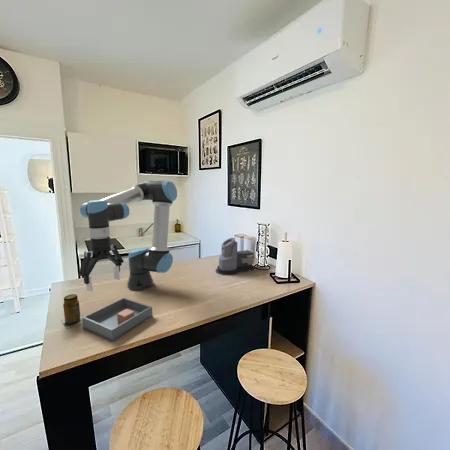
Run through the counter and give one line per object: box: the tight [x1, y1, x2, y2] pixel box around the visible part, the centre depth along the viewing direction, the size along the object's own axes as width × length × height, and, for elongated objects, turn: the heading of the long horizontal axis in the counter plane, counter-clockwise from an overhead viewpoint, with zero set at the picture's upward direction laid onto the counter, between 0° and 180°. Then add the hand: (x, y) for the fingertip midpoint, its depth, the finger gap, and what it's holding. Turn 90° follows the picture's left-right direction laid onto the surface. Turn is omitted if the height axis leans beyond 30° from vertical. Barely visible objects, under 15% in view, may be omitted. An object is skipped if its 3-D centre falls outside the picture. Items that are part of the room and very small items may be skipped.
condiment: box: [61, 293, 83, 329], centre depth 111 cm, size 7×8×12 cm
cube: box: [117, 309, 134, 324], centre depth 109 cm, size 5×5×5 cm
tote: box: [81, 297, 153, 342], centre depth 111 cm, size 20×22×5 cm
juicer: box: [215, 237, 257, 276], centre depth 178 cm, size 30×16×24 cm, turn 115°
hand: (104, 284), depth 107 cm, fingers open, 13 cm apart
